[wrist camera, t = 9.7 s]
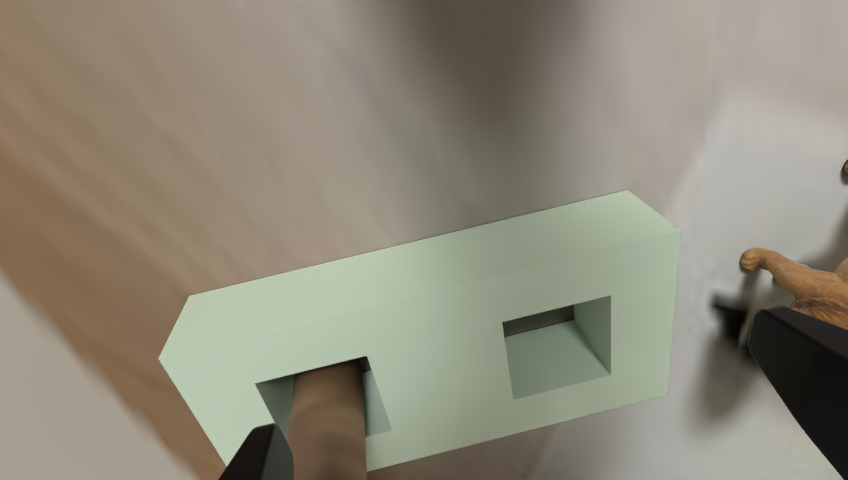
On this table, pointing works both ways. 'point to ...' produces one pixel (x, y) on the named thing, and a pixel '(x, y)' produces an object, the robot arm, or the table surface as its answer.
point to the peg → (328, 423)
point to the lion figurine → (806, 284)
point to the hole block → (446, 331)
